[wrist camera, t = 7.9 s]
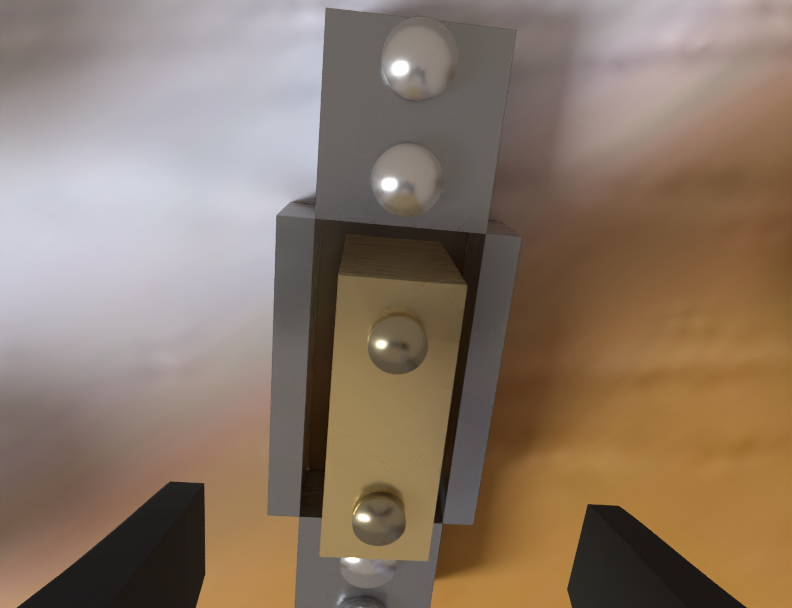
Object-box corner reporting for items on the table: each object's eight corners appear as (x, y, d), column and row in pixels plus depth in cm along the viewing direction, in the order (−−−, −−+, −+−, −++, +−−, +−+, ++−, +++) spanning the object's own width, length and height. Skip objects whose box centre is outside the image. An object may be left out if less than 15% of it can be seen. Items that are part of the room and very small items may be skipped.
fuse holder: (528, 48, 16) (565, 30, 13) (443, 585, 22) (455, 657, 19) (296, 21, 15) (278, -4, 12) (275, 578, 21) (260, 651, 18)
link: (440, 241, 17) (470, 290, 12) (413, 457, 20) (429, 572, 15) (346, 233, 17) (337, 279, 12) (331, 452, 20) (318, 568, 15)
